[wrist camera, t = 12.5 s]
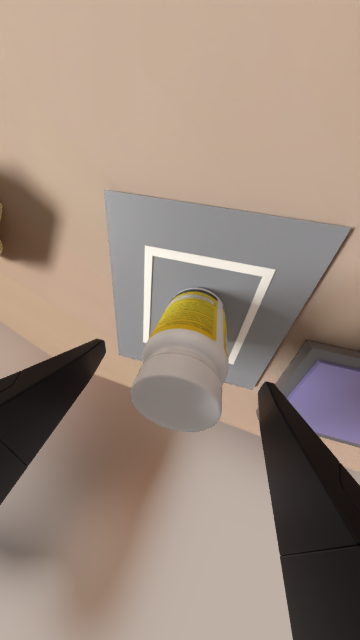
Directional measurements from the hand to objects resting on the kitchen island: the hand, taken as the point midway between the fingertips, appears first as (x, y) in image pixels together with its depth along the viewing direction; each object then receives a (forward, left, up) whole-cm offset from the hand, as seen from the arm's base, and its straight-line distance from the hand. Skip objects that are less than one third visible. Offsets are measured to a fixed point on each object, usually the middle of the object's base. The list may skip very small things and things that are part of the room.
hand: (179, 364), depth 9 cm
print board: (0, 0, -6) cm, 7 cm away
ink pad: (-15, +6, -6) cm, 17 cm away
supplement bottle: (0, 0, -6) cm, 6 cm away
